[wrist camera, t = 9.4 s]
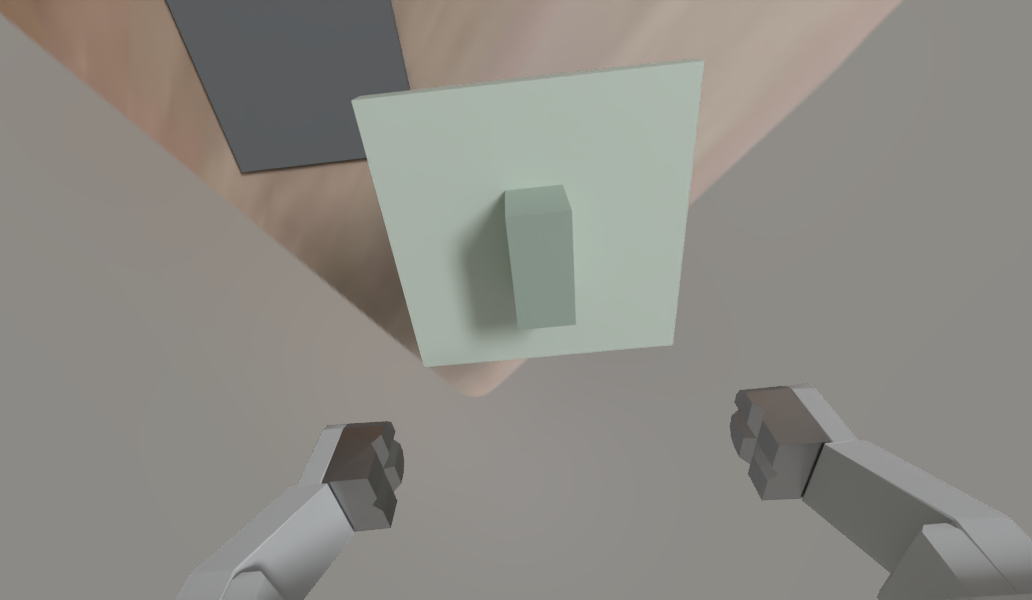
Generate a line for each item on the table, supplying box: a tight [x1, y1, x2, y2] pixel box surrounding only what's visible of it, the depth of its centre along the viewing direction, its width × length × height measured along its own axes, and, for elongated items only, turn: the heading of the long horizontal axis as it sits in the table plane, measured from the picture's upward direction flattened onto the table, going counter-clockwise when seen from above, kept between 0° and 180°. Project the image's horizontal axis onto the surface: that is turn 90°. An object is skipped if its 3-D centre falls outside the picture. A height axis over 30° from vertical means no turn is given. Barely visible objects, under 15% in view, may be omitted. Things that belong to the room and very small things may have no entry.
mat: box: [166, 0, 410, 172], centre depth 30 cm, size 14×14×1 cm
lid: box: [351, 58, 704, 367], centre depth 19 cm, size 13×13×4 cm
